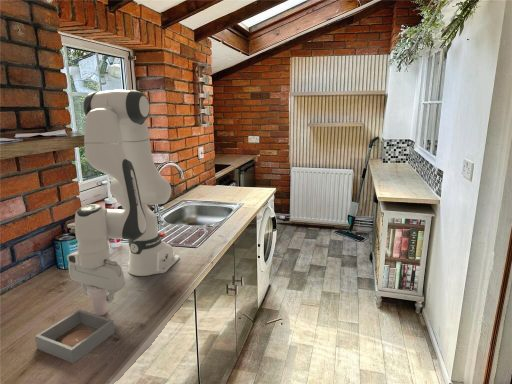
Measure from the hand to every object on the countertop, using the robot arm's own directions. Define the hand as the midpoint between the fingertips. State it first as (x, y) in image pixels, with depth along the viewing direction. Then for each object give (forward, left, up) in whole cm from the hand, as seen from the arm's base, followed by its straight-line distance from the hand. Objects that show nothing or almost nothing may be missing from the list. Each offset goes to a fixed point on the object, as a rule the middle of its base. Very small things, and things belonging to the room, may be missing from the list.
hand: (99, 297), depth 111 cm
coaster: (+13, +5, -5) cm, 15 cm away
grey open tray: (+13, +5, -5) cm, 15 cm away
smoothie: (0, 0, -6) cm, 6 cm away
